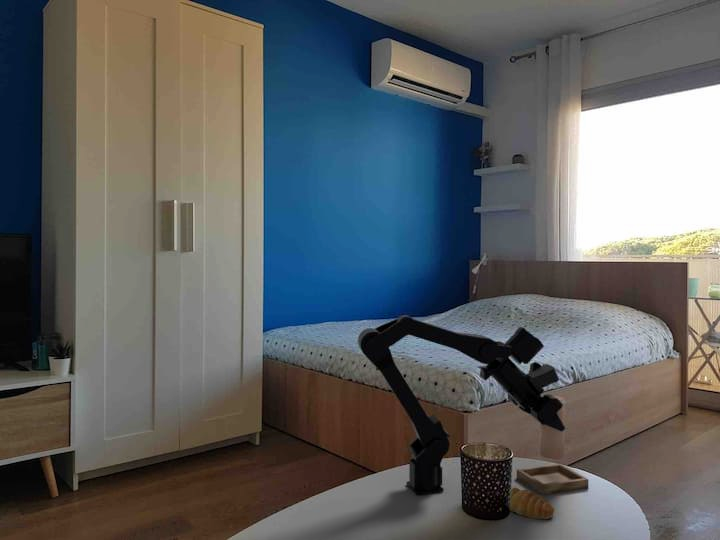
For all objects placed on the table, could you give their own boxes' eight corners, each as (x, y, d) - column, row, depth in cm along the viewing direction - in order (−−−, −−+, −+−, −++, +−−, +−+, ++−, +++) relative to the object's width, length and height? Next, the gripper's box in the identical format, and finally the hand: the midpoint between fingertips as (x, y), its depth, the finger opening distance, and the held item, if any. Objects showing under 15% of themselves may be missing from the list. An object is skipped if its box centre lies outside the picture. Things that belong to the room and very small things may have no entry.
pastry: (559, 513, 114) (559, 495, 114) (545, 525, 109) (545, 506, 109) (516, 500, 121) (516, 482, 120) (501, 510, 116) (501, 492, 116)
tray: (542, 494, 123) (542, 485, 123) (516, 477, 132) (516, 469, 132) (588, 488, 126) (588, 479, 126) (559, 471, 136) (560, 463, 136)
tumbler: (554, 460, 125) (555, 402, 125) (534, 453, 130) (534, 397, 129) (569, 455, 128) (570, 399, 128) (549, 449, 133) (549, 394, 133)
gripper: (554, 361, 119) (603, 412, 120) (520, 346, 137) (563, 391, 139) (517, 398, 118) (567, 449, 120) (489, 379, 137) (532, 423, 138)
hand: (557, 426), depth 129 cm, fingers closed on tumbler, 5 cm apart
